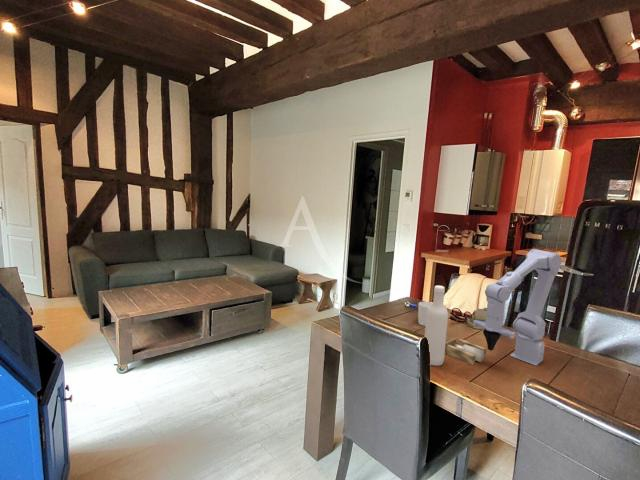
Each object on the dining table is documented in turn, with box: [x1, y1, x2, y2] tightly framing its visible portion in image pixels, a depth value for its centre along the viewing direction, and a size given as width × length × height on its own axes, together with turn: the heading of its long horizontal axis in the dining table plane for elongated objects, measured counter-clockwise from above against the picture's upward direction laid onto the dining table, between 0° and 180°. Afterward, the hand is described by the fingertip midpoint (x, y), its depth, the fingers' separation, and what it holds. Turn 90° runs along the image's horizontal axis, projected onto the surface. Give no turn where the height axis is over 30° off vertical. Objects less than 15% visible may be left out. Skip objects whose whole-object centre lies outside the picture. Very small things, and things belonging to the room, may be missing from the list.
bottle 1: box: [424, 284, 449, 367], centre depth 127 cm, size 8×8×30 cm
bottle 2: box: [454, 343, 485, 363], centre depth 133 cm, size 5×5×10 cm
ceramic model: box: [466, 307, 487, 331], centre depth 163 cm, size 14×11×10 cm
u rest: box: [445, 337, 487, 366], centre depth 135 cm, size 14×11×4 cm
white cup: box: [417, 301, 433, 327], centre depth 165 cm, size 8×8×10 cm
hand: (490, 349), depth 126 cm, fingers closed
